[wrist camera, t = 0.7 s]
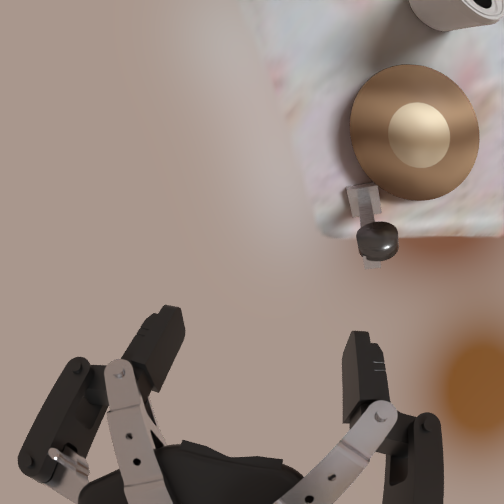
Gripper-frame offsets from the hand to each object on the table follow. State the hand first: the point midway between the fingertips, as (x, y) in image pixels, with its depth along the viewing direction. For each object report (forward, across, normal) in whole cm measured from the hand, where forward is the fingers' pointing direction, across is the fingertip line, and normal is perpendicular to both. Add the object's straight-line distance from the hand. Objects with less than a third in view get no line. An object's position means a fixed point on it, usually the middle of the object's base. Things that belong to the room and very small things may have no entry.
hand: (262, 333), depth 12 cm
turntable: (+22, -14, -9) cm, 27 cm away
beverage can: (+21, -15, -25) cm, 36 cm away
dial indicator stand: (+25, -10, +1) cm, 27 cm away
